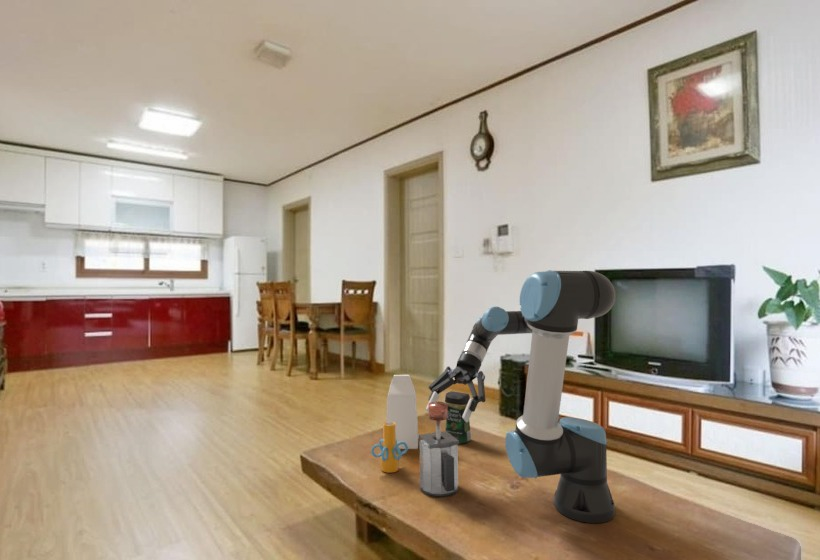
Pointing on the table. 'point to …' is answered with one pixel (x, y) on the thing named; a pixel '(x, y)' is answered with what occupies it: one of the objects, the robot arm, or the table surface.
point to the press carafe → (438, 465)
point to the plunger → (438, 415)
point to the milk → (403, 410)
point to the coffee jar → (457, 416)
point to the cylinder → (389, 449)
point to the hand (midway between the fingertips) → (445, 415)
